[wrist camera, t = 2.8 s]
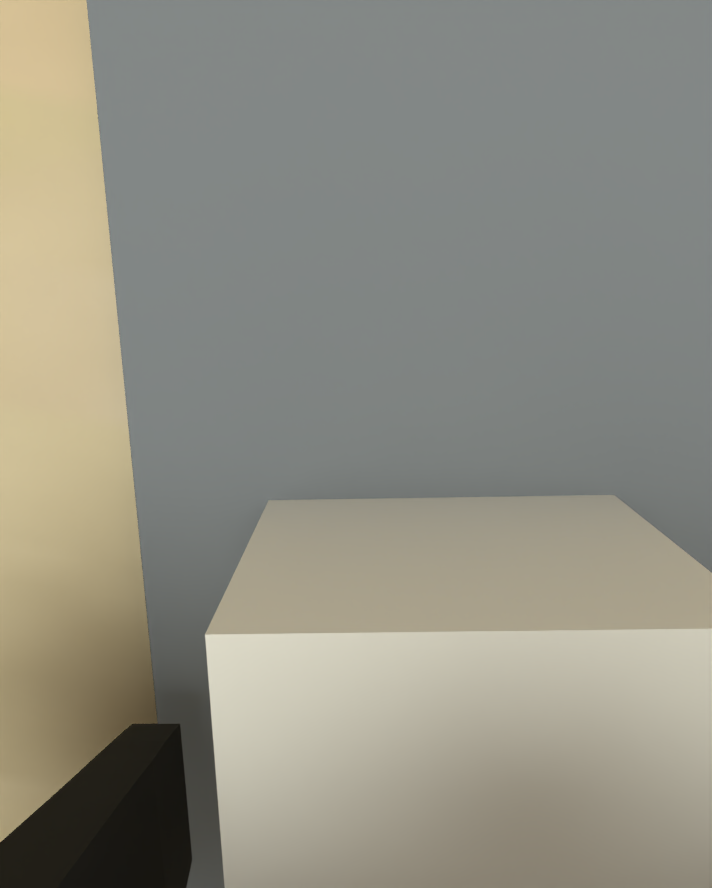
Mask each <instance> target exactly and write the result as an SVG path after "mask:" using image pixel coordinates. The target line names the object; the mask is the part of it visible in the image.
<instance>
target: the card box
mask: <svg viewBox="0 0 712 888" xmlns="http://www.w3.org/2000/svg"><path fill="white" fill-rule="evenodd" d="M205 641H206V654H207V667H208V680H209V693H210V706H211V719H212V731H213V744H214V757H215V770H216V783H217V796H218V809H219V822H220V834H221V847H222V860H223V873H224V886H225V888H712V573H711V572H710V571H709V570H708V569H706V568H705V567H704V566H703V565H701V564H700V563H699V562H698V561H696V560H695V559H694V558H693V557H691V556H690V555H689V554H688V553H686V552H685V551H684V550H683V549H681V548H680V547H679V546H678V545H676V544H675V543H674V542H673V541H671V540H670V539H669V538H668V537H666V536H665V535H664V534H662V533H661V532H660V531H659V530H657V529H656V528H655V527H654V526H652V525H651V524H650V523H649V522H647V521H646V520H645V519H644V518H642V517H641V516H640V515H639V514H637V513H636V512H635V511H634V510H632V509H631V508H630V507H629V506H627V505H626V504H625V503H624V502H622V501H621V500H620V499H619V498H617V497H616V496H615V495H577V496H512V497H446V498H381V499H316V500H268V503H267V505H266V507H265V509H264V511H263V513H262V515H261V517H260V519H259V522H258V524H257V526H256V528H255V530H254V532H253V534H252V536H251V538H250V541H249V543H248V545H247V547H246V549H245V551H244V553H243V555H242V557H241V560H240V562H239V564H238V566H237V568H236V570H235V572H234V574H233V576H232V579H231V581H230V583H229V585H228V587H227V589H226V591H225V593H224V595H223V598H222V600H221V602H220V604H219V606H218V608H217V610H216V612H215V614H214V617H213V619H212V621H211V623H210V625H209V627H208V629H207V631H206V633H205Z"/></svg>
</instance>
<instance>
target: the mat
mask: <svg viewBox="0 0 712 888" xmlns="http://www.w3.org/2000/svg"><path fill="white" fill-rule="evenodd" d="M87 9H88V19H89V29H90V39H91V49H92V60H93V70H94V80H95V90H96V100H97V110H98V121H99V131H100V141H101V151H102V161H103V172H104V182H105V192H106V202H107V212H108V222H109V233H110V243H111V253H112V263H113V273H114V284H115V294H116V304H117V314H118V324H119V334H120V345H121V355H122V365H123V375H124V385H125V396H126V406H127V416H128V426H129V436H130V446H131V457H132V467H133V477H134V487H135V497H136V507H137V518H138V528H139V538H140V548H141V558H142V569H143V579H144V589H145V599H146V609H147V619H148V630H149V640H150V650H151V660H152V670H153V681H154V691H155V701H156V711H157V721H158V724H180V728H181V739H182V750H183V761H184V772H185V784H186V795H187V806H188V817H189V828H190V839H191V850H192V863H191V868H190V873H189V877H188V882H187V887H186V888H225V886H224V873H223V860H222V847H221V834H220V822H219V809H218V796H217V783H216V770H215V757H214V744H213V731H212V719H211V706H210V693H209V680H208V667H207V654H206V641H205V633H206V631H207V629H208V627H209V625H210V623H211V621H212V619H213V617H214V614H215V612H216V610H217V608H218V606H219V604H220V602H221V600H222V598H223V595H224V593H225V591H226V589H227V587H228V585H229V583H230V581H231V579H232V576H233V574H234V572H235V570H236V568H237V566H238V564H239V562H240V560H241V557H242V555H243V553H244V551H245V549H246V547H247V545H248V543H249V541H250V538H251V536H252V534H253V532H254V530H255V528H256V526H257V524H258V522H259V519H260V517H261V515H262V513H263V511H264V509H265V507H266V505H267V503H268V500H316V499H381V498H446V497H512V496H577V495H615V496H616V497H617V498H619V499H620V500H621V501H622V502H624V503H625V504H626V505H627V506H629V507H630V508H631V509H632V510H634V511H635V512H636V513H637V514H639V515H640V516H641V517H642V518H644V519H645V520H646V521H647V522H649V523H650V524H651V525H652V526H654V527H655V528H656V529H657V530H659V531H660V532H661V533H662V534H664V535H665V536H666V537H668V538H669V539H670V540H671V541H673V542H674V543H675V544H676V545H678V546H679V547H680V548H681V549H683V550H684V551H685V552H686V553H688V554H689V555H690V556H691V557H693V558H694V559H695V560H696V561H698V562H699V563H700V564H701V565H703V566H704V567H705V568H706V569H708V570H709V571H710V572H711V573H712V0H87Z"/></svg>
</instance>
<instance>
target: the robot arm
mask: <svg viewBox="0 0 712 888" xmlns="http://www.w3.org/2000/svg"><path fill="white" fill-rule="evenodd" d="M191 863H192V850H191V839H190V828H189V817H188V806H187V795H186V784H185V772H184V761H183V750H182V739H181V728H180V724H132V725H131V726H130V727H129V728H127V729H126V730H125V731H124V732H123V733H121V734H120V735H119V736H118V737H117V738H116V739H115V740H114V741H112V742H111V743H110V744H109V745H108V746H107V747H106V748H105V749H104V750H103V751H101V752H100V753H99V754H98V755H97V756H96V757H95V758H94V759H93V760H92V761H91V762H89V763H88V764H87V765H86V766H85V767H84V768H83V769H82V770H81V771H80V772H79V773H78V774H76V775H75V776H74V777H73V778H72V779H71V780H70V781H69V782H68V783H67V784H65V785H64V786H63V787H62V788H61V789H60V790H59V791H58V792H57V793H56V794H54V795H53V796H52V797H51V798H50V799H49V800H48V801H47V802H45V803H44V804H43V805H42V806H41V807H40V808H39V809H38V810H36V811H35V812H34V813H33V814H32V815H31V816H30V817H29V818H27V819H26V820H25V821H24V822H23V823H22V824H21V825H20V826H18V827H17V828H16V829H15V830H14V831H13V832H12V833H11V834H9V835H8V836H7V837H6V838H5V839H4V840H3V841H2V842H0V888H186V887H187V882H188V877H189V873H190V868H191Z"/></svg>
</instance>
